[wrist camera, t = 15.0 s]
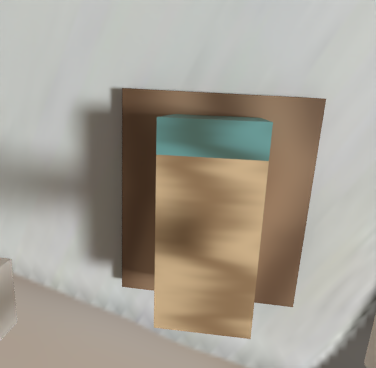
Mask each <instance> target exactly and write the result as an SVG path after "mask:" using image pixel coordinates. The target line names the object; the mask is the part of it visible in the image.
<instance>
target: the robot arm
mask: <svg viewBox="0 0 376 368" xmlns="http://www.w3.org/2000/svg"><path fill="white" fill-rule="evenodd" d="M16 323H17V313H16V303H15V292H14V282H13V272H12V262H11V259H8V258H0V340H1V339H2V338H3V337H4V336H5V335H6V334H7V333H8V332H9V331H10V330H11V329H12V328H13V326H14V325H15V324H16ZM364 364H365V366H366V368H376V315H375V319H374V323H373V327H372V332H371V336H370V340H369V344H368V348H367V352H366V357H365V361H364Z"/></svg>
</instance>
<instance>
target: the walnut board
mask: <svg viewBox="0 0 376 368" xmlns="http://www.w3.org/2000/svg"><path fill="white" fill-rule="evenodd" d="M325 102H326V99H319V98H300V97H281V96H262V95H242V94H223V93H204V92H185V91H165V90H146V89H127V88H122V287H129V288H138V289H146V290H154V286H155V210H156V134H157V117H160V116H166V115H172V114H185V115H208V116H231V117H254V118H263V119H265V120H268V121H271V122H273V127H272V137H271V146H270V156H269V165H268V175H267V184H266V194H265V203H264V213H263V223H262V232H261V242H260V251H259V261H258V270H257V280H256V289H255V299H254V302H255V303H263V304H272V305H280V306H288V307H293V303H294V296H295V290H296V284H297V277H298V271H299V265H300V259H301V252H302V246H303V240H304V234H305V227H306V221H307V215H308V209H309V202H310V196H311V190H312V183H313V177H314V171H315V165H316V158H317V152H318V146H319V140H320V133H321V127H322V121H323V115H324V108H325Z"/></svg>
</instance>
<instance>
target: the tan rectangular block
mask: <svg viewBox="0 0 376 368" xmlns="http://www.w3.org/2000/svg"><path fill="white" fill-rule="evenodd" d="M272 127H273V122H271V121H268V120H265V119H263V118H254V117H231V116H208V115H185V114H172V115H166V116H160V117H157V134H156V210H155V286H154V328H163V329H171V330H180V331H188V332H197V333H205V334H214V335H222V336H230V337H239V338H247V339H250V337H251V328H252V318H253V309H254V299H255V289H256V280H257V270H258V261H259V251H260V242H261V232H262V223H263V213H264V203H265V194H266V184H267V175H268V165H269V156H270V146H271V137H272Z"/></svg>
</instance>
